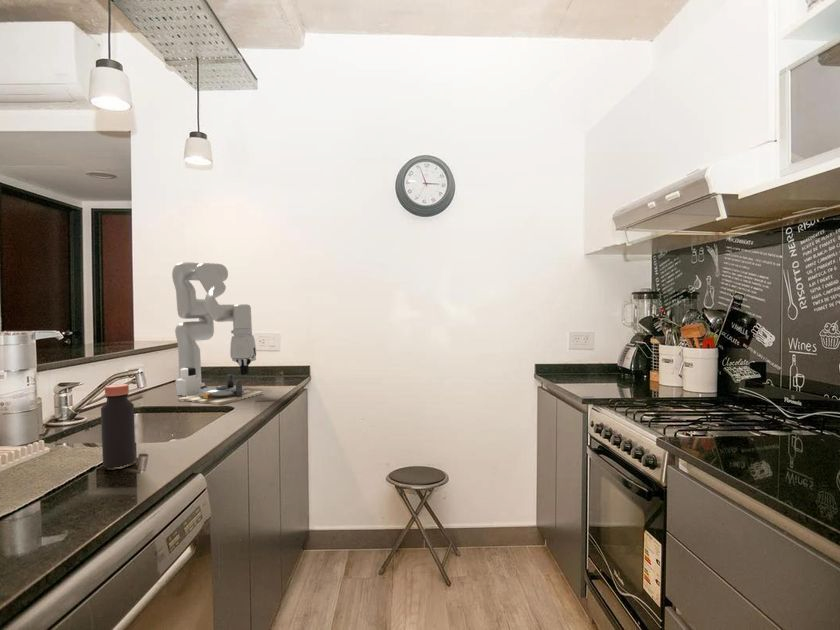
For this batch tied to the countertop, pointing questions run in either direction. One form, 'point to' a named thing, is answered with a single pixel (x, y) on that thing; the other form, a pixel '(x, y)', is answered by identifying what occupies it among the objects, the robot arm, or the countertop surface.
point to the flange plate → (220, 389)
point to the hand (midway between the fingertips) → (244, 374)
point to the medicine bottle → (188, 382)
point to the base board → (223, 399)
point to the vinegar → (117, 427)
